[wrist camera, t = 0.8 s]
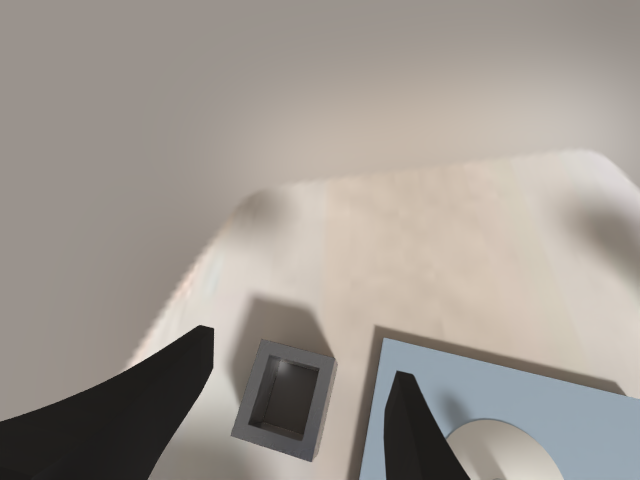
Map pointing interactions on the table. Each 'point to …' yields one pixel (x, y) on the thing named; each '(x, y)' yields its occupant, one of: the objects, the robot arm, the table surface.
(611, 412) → the board
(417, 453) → the robot arm
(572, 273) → the table surface
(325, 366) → the hollow square tube
